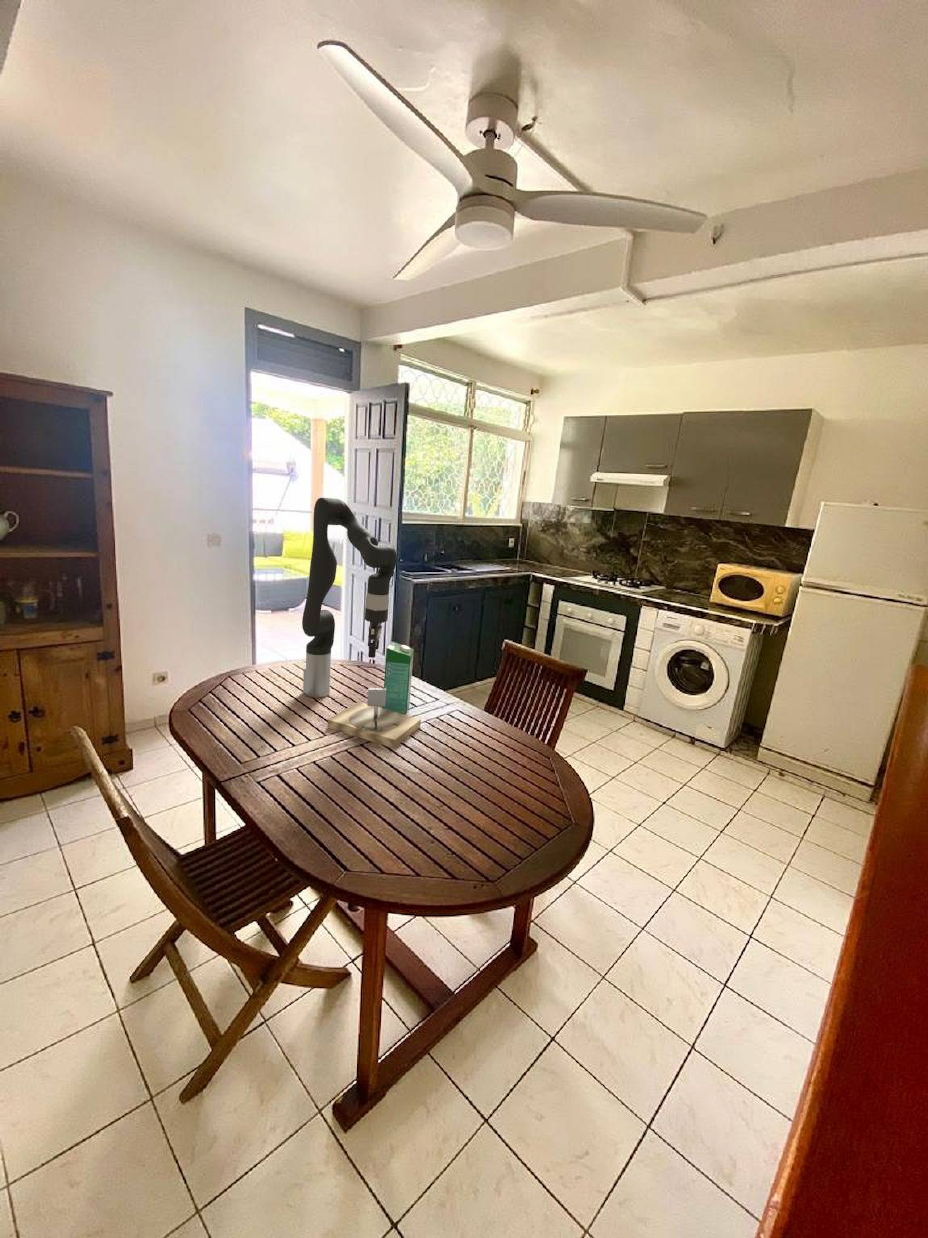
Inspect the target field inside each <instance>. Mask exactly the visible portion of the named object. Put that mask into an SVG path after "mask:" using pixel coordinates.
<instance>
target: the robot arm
mask: <svg viewBox="0 0 928 1238" xmlns="http://www.w3.org/2000/svg"><path fill="white" fill-rule="evenodd" d="M312 525H313V532H312V533H313V534H312V535H313V536H312V548H311V549H312V550H311V558H310V565H309V566H310V567H309V578H308V585H307V593H306V594H307V595H306V599H305V603H304V604H305V605H304V609H303V612H302V613H303V614H302V622H301V625H302V631H303V633H304V634H305V636H307V637H313V638H312V639H311V640H310V641H309V642H308V643H307V644H306V646H305V652H306V653H305V668H304V669H303V675H302V677H303V682H302V683H303V684H302V693H303V694H305V695H306V696H307V697H310V698H316V699H317V698H324V697H327V696H329V695H330V693H331V690H330V689H331V668H332V667H331V659H332V648H333V646H334V641H335V630H336V629H335V628H336V623H335V616H334V615H333V613H332V612H331V611H330V610H328V609H322V608H323V607H322V606H323V603H324V600H325V598H326V597H327V595H328V593H329V592H330V590H331V588H332V587H333V585H334V583H335V580H336V575H337V566H338V560H337V558H336V557H337V556H335V552H334V551H333V549H332V546H331V545H330V542H329V537H328V536H329V535H328V529H329V526H341V527H343V528H345V529H346V530H347V531H346V534H347V539H348V541H349V542H350V544H351V545H352V546H353V547H354V548H355V549H356V550H357V551H358V552H359V554H360V556H361V558H362V559H363V562H364V564H365V565H366V566H368V567H369V568H373V569H378V571H377V572H375V573H373V574H371V575H369V576H368V578H367V590H366V596H365V597H366V598H365V604H364V605H365V607H364V620H365V621H367V622H368V623H369V622H370V623H369V626H368V635H367V647H368V653H367V654H368V658H372V659H374V658H375V657H376V651H377V650H378V649H379V648H380V647H379V646H380V639H381V635H382V630H383V625H382V623H386V622H388V617H389V608H390V607H389V605H390V600H389V599H390V596H389V595H390V585H391V584H390V582H391V580H392V576H393V575H394V574H393V573H394V571H395V568H396V566H397V563H398V554H397V551H396V548H394V547H393V546H391V545H379V542H378V539H377V538H376V536H375V535H373V534H372V533H371V532H370V531H369V530H368V529H367V528H366V527H365V526H364V525H363V524H362V523H361V521H360V520H359V519H358V517H357V516H356V514H355V513H354V512H353V510H352V509H351V508H350V506H349V505H348V504H347V503H346V502H345V500H343V499H340V498H331V497H319V498H318V499H316V501H315V504H314V508H313V524H312Z"/></svg>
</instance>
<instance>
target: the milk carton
mask: <svg viewBox="0 0 928 1238" xmlns="http://www.w3.org/2000/svg"><path fill="white" fill-rule="evenodd" d="M385 651H386V652H385V664H384V677H383V678H384V681H383V682H384V683H383V688H386V701H385V706H382V708H383V709H387V710H391V711H394V712H397V713H401V714H404V715H407V714H408V710H409V707H410V703H411V702H410V701H411V687H412V676H413V664H414V651H415V649H414V648H412V647H410V646H408V645H405V644H400V643H398V642H396V641H392V640H390V641H389V643H388V645H387V646H386V650H385Z"/></svg>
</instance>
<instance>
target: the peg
mask: <svg viewBox="0 0 928 1238" xmlns="http://www.w3.org/2000/svg"><path fill="white" fill-rule="evenodd" d="M385 701H386V688H384V687H382V688H381V687H380V688H377V687H368V689H367V703H366V704H367V706H374V717H373V718H374V719H375V729H377V718H378V707H383V706H385Z"/></svg>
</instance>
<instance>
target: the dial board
mask: <svg viewBox="0 0 928 1238" xmlns="http://www.w3.org/2000/svg"><path fill="white" fill-rule="evenodd" d="M373 717H374V706H367V703H365V702H361V701H357V702H356V703H355V702H354V703H353V704H351V705H350V706H348V707H347V708H345V709H344V710H342V711H340V712H339V713H336V714H334V715H333V716H332V717H330V718H328V719H327V728H328V729H331V730H334V731H338V732H341V733H345V734H347V735H351V736H354V737H357V738H360V739H364V740H367V741H370V742H371V743H372V742H373V743H376V744H380V745H382V746H386V747H388V748H390V749H395V748H397V747H398V746H400V744H401V743H403V742H404V741H405V740H407V739H408V738H409V737H410V736H411V735H412V734H414V733H415V732H416V731H417V730H419V729H420V728H421V723H422V719H421V718H418V717H415V716H411V715H407V714H403V713H397V712H394V711H391V710H387V709H383V707H381V706H378V718H377V729H375V719H374V718H373Z"/></svg>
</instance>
